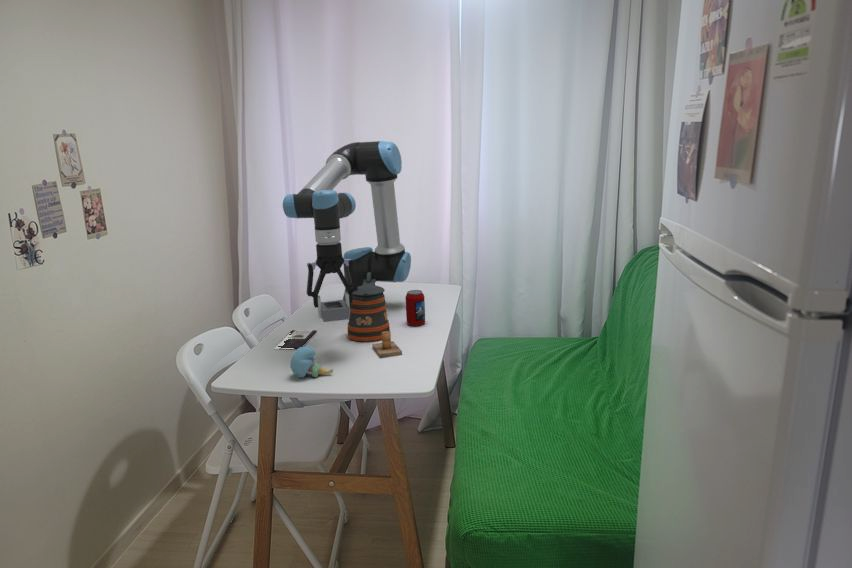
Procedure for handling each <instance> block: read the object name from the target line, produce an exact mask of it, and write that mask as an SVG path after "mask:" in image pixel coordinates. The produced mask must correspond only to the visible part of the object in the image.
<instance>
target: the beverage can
mask: <svg viewBox="0 0 852 568" xmlns="http://www.w3.org/2000/svg"><path fill="white" fill-rule="evenodd" d="M425 304H426V303H425V295H424V293H423V290H419V289H411V290H408V291H407V292H406V294H405V313H406V314H405V315H406V316H405V317H406V323H407V324H408V325H410V326H411V327H418V326H419V325H420V326H422V325H423V324H425V323H426V308H425V307H426V305H425Z"/></svg>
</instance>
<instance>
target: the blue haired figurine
mask: <svg viewBox="0 0 852 568" xmlns="http://www.w3.org/2000/svg"><path fill="white" fill-rule="evenodd" d="M316 354H317V353H316V349H315V348H314V347H313V346H308V345H307V346H306V345H304V346H303V347H300V348H298V349H297V350H295V351H294V352H293V354H292V355H291V357H290V363H289V364H290V365H289V366H290V369H291V371H292V373H293V374H294V375H295V376H297V377H298V378H300V379H303V378H305V377H306V376H307V374H308V373H311V376H312V377H313V378H318V377H319V375H330V374H332V373H334V372H333V371H334V369H333V368H330V369H325V368H323V367H322V366H321V364H319V363H317V362H315V363H314V361H315V360H316V359H315V358H314V357H315V355H316Z"/></svg>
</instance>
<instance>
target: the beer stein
mask: <svg viewBox="0 0 852 568" xmlns="http://www.w3.org/2000/svg"><path fill="white" fill-rule="evenodd" d="M376 283H377V281H376V279H372V278H371V272H368V273H367V279H365V280H364V283H363V284H362V286H358V287H357V288H358V290H357V291H354V292H353V293H352V300H353V302H352V303H349V305H350V319H348V322H347V338H349V339H350V340H352V341H354V342H361V343H370V342H376V341H377V342H378V341H382V332H384V331H389V332H390V333H391V329H390V321H389V319H388V314H387V301H386V299H385V298H386V296H385V294H384V292H385V291H386V289H385V288H383V287H382V286H379V285H376Z"/></svg>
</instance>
